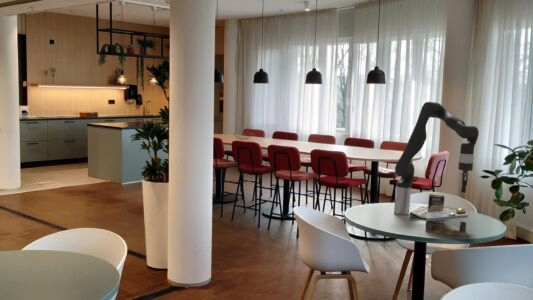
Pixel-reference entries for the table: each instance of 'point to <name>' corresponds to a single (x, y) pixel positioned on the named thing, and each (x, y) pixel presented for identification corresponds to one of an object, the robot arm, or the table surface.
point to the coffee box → (436, 204)
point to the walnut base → (446, 229)
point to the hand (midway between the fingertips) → (463, 192)
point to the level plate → (446, 214)
